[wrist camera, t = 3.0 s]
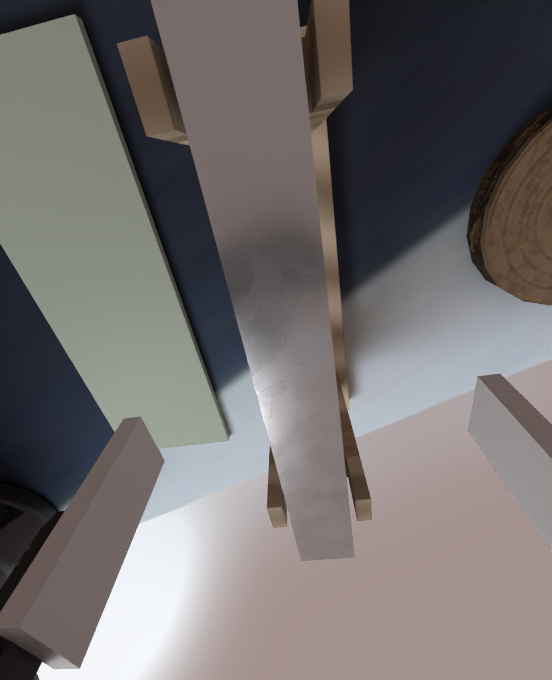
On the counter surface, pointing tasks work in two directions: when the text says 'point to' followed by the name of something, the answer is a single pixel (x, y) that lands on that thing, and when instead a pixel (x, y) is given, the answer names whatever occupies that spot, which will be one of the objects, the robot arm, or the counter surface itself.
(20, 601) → the robot arm
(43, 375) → the counter surface
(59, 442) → the counter surface
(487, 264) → the wooden log slice
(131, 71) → the rail rack
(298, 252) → the steel rail
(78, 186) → the sage mat
